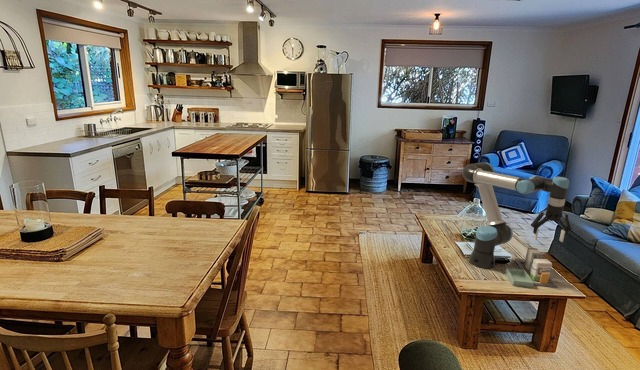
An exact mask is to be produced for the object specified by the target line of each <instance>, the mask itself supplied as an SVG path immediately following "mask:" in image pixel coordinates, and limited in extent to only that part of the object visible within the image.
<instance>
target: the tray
mask: <svg viewBox="0 0 640 370" xmlns="http://www.w3.org/2000/svg"><path fill="white" fill-rule="evenodd" d="M526 272H527V271H526V269H525V270H521V269H520V268H519V269H517V268H507V267H506V268H505V271H504V273H505V275H506V277H507V278H508V280H509V281H510V284H511V286H513V287H514V286H515V287H523V288H534V286H535V285H534V283H535V282H534V280H533V279H532V278H530V277H529V276H530V274H528V272H527V273H526ZM531 279H532V280H531Z"/></svg>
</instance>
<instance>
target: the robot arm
mask: <svg viewBox="0 0 640 370" xmlns="http://www.w3.org/2000/svg"><path fill="white" fill-rule="evenodd" d="M461 174H462V177H463V179H464V180H465V181H467V182H469V183H473V184H474V186H475V187H477V189H478V192H479V195H480V196H479V197H480V199H481V202H482V206H483V210H484V214H485V216H486V219H487V224H486V225H481V226H479V227H478V228H476V229H477V230H476V232H475V240H474V246H473V250H472V252H471V253H470V255H469V258H468V262H469V263H470V264H471V265H473V266H475V267H477V268H481V269H493V268H494V267H495V266H496V265H495V264H496V261H495V260H496V258H495V248H496V247H498V246H501V245H502V244H506V243H509V242H510V241H511V240H512V238H513V236H514V232H513V229H512V227H511V226H509V225H508V224H507V221H505V220H504V219H503V218H502V217H503V216H502V214H501V210H500V207H499V204H498V201H497V197H496V194H495V190H494V186H495V187H499V188H504V189H508V190H513V191H517V192H518V193H520V194H523V195H528V194H531V193H535V192H539V191H542V192H546V193H549V198H548V200H547V201H548V202H547V207H546V211H545V212H544V211H542V210H541V211H539V213H538V215H537V216H536V218H535V219H534V220H533V221H532V223H531V224H530V226H531V228H533V231H532V232H533V233H532V234H533V239H534V240H535V241H537V240H538V235H539V231H540V230H539V228H540V227H541V226H542V225H544V224H546V223H547V222H549V221H550V222H557V223H559V225H560V226H561V228H562V229H561V231H560V235H559V239H558V240H559V242H561V243H564V238H565V237H566V236H567V233H568V232H569V231H572V226H571V224H570V221H569V214H567V213H566V212H565V213H563V212H564V206H565V204H566V199H567V194H568V190H569V184H570V180H569V178H566V177H564V176H554V177H553V178H548V177H545V176H541V175H532V176H531V175H530V177H529V178H523V177H518V176H514V175H508V174H503V173H498V172H495V169H494V166H493V165H492V164H491V163H489V162H484V161H483V162H475V163H469V164H467V165H466V166H464V167H463V169H462V173H461ZM561 218H563V220H564V223H563V221H562V219H561Z"/></svg>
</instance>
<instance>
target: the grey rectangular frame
mask: <svg viewBox="0 0 640 370" xmlns="http://www.w3.org/2000/svg"><path fill="white" fill-rule="evenodd" d="M525 259H526V257H525V258H524V260H518V259H517V260H515V261H514V262H515V264H517V266H518V268H519V270H525V271H526V269H525V268H524V266H523V265H522V264H525ZM526 273H527V274H528V272H527V271H526ZM529 277H530V275H529ZM530 278H531V277H530ZM548 278H549V280H548ZM531 280H532V281H533V279H532V278H531ZM548 283H549V284H548ZM533 286H539V287H548V288H558V285H557V284H556V283H555V281H554V280H553V278H551V276H549V273H542V274H541V278H540V281H538V282H534V285H533Z"/></svg>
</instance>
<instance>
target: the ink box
mask: <svg viewBox="0 0 640 370" xmlns="http://www.w3.org/2000/svg"><path fill="white" fill-rule="evenodd" d="M552 267H553V263H552V262H551V261H550V260H549V259H547V258H542V259H533V264H532V269H531V272H529V273H530V274H529V276H530V277H531V279H532V281H533V282H534V281H536V282H540V278H541V274H542V273H549V276H550V275H551V271H552ZM550 277H551V276H550ZM548 281H549V278H548Z"/></svg>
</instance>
